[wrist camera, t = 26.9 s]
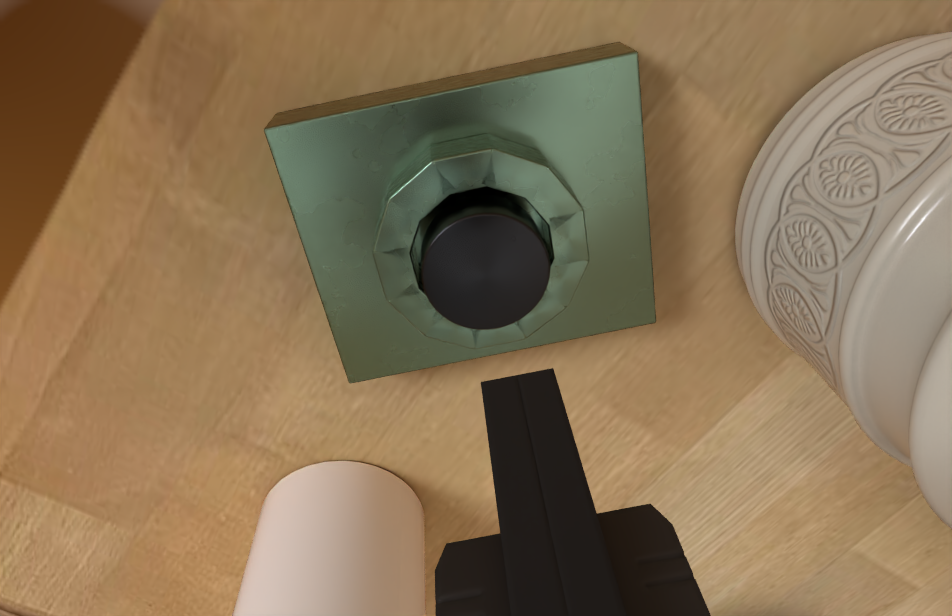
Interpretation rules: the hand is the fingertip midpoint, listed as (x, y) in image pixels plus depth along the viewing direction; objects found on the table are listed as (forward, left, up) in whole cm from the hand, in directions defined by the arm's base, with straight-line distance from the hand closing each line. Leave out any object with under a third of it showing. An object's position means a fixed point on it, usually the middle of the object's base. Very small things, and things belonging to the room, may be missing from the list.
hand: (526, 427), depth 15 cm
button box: (0, 0, -13) cm, 13 cm away
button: (0, 0, -9) cm, 9 cm away
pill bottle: (-9, -14, -13) cm, 21 cm away
